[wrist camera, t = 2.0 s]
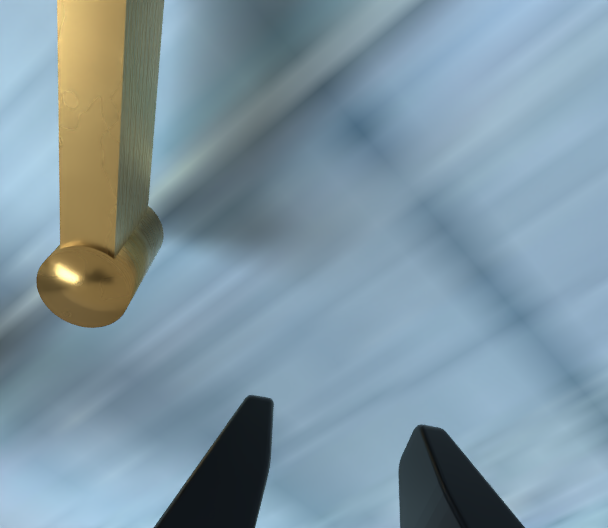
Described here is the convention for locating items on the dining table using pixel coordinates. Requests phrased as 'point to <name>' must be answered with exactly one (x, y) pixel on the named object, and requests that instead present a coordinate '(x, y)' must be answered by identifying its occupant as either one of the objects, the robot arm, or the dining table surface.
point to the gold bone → (104, 158)
